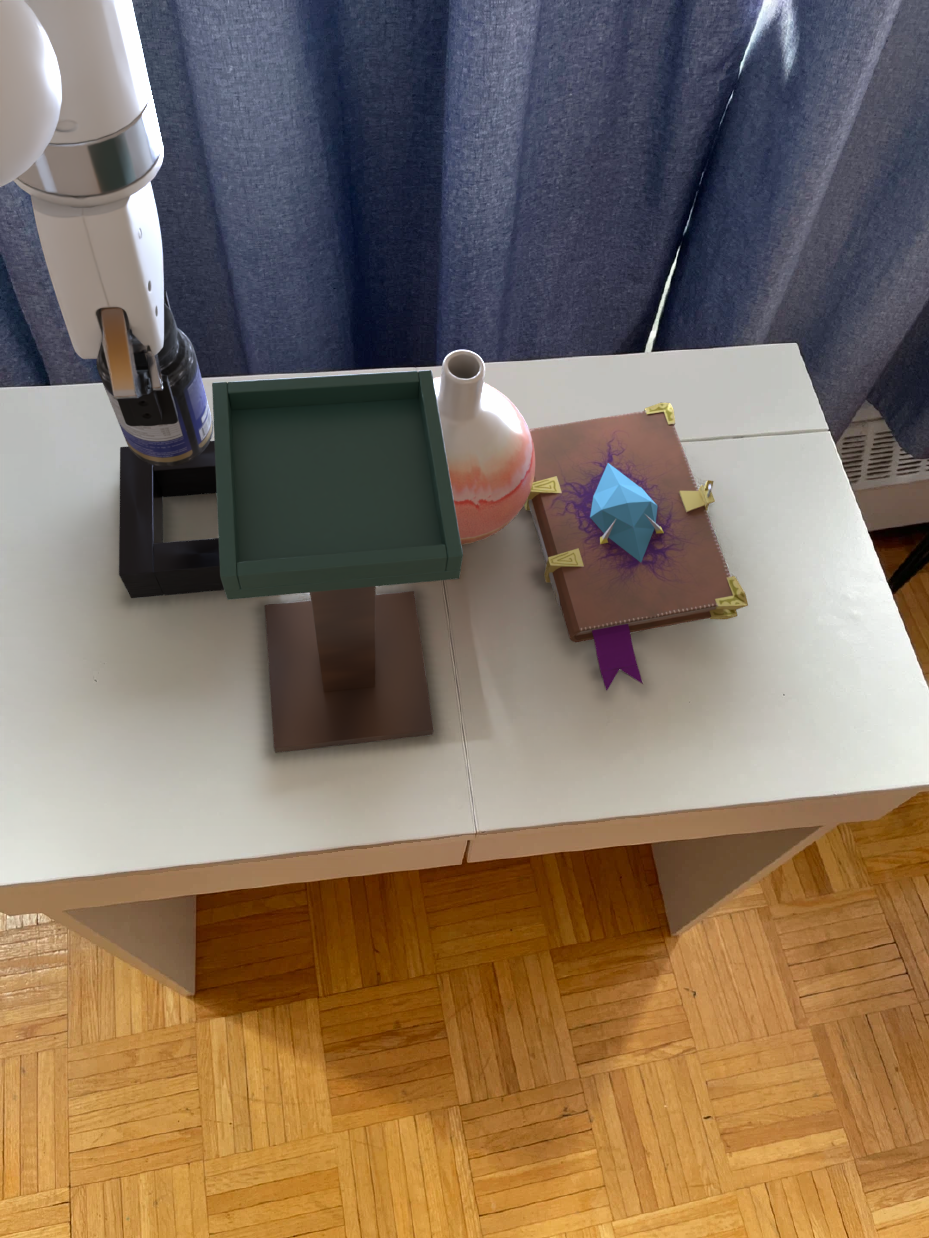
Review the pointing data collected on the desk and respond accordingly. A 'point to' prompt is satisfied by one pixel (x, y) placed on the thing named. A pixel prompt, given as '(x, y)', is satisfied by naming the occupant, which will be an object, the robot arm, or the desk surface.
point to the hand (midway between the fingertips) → (152, 377)
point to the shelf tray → (332, 484)
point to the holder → (141, 528)
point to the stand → (346, 669)
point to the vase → (482, 448)
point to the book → (626, 532)
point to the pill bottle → (189, 396)
